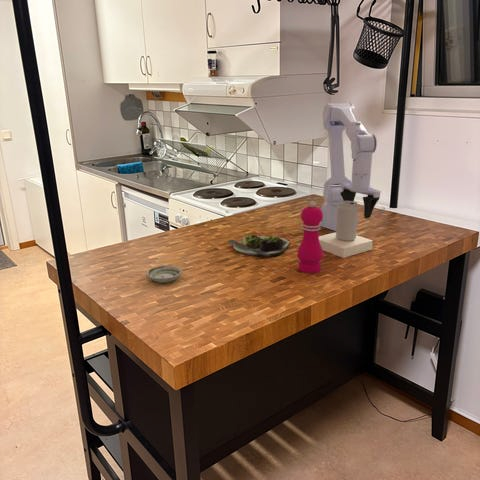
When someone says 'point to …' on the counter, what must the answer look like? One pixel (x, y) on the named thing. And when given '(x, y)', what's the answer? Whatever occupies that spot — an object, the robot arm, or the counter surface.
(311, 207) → the pepper mill
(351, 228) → the beverage can
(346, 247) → the block
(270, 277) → the counter surface
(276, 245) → the salad plate
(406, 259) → the counter surface
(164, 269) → the saucer
